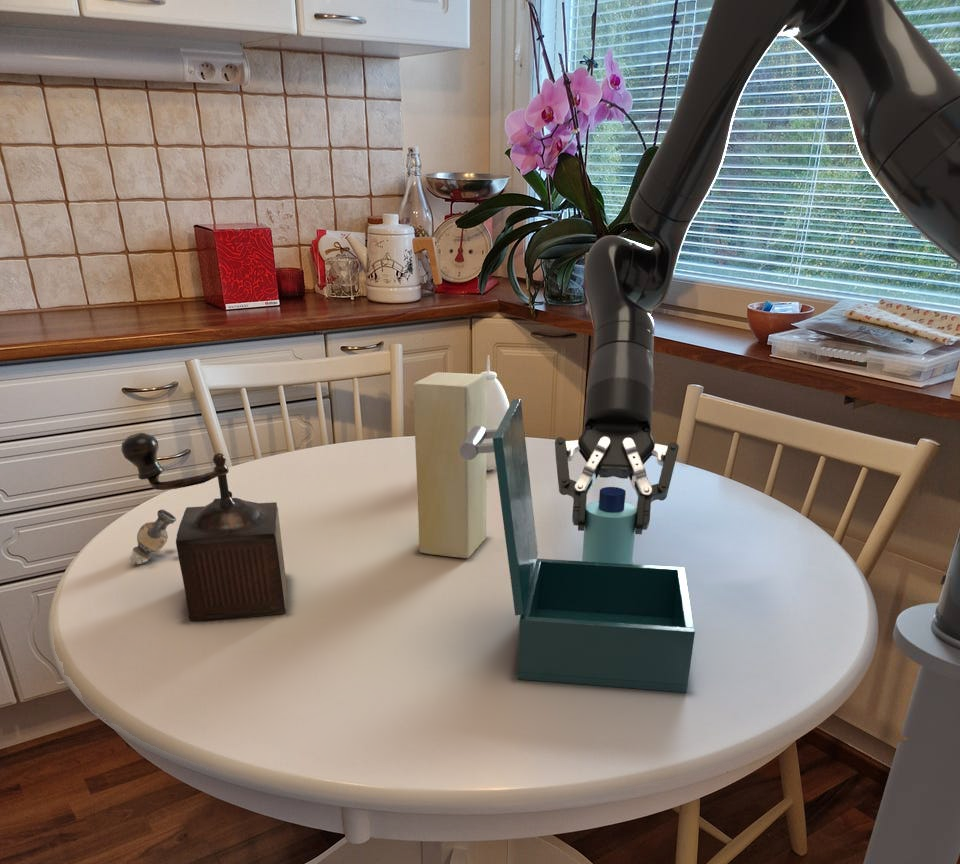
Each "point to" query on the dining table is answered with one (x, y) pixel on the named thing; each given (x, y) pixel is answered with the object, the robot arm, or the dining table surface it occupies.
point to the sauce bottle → (493, 408)
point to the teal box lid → (511, 495)
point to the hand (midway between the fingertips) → (610, 529)
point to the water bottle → (609, 528)
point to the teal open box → (607, 625)
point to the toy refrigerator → (449, 463)
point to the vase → (152, 537)
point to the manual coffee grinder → (221, 544)
